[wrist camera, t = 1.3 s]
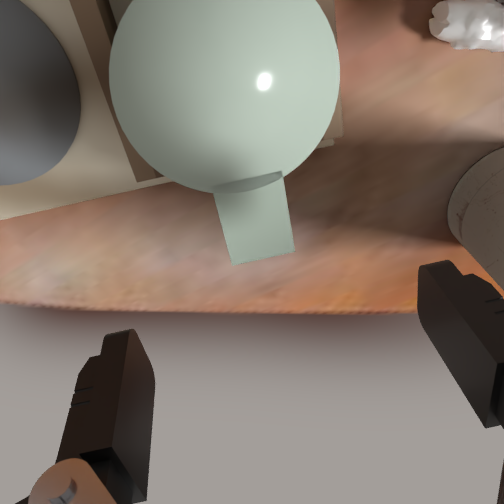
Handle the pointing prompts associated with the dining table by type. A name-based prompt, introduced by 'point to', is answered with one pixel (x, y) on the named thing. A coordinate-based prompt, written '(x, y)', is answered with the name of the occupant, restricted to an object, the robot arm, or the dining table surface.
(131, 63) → the sage jug
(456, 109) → the dining table surface
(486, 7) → the seated beast figurine
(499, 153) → the thermos bottle
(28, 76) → the jug stand
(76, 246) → the dining table surface
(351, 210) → the dining table surface
